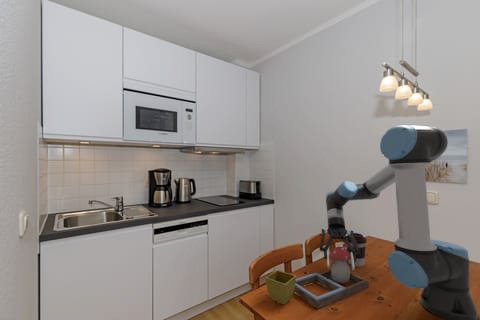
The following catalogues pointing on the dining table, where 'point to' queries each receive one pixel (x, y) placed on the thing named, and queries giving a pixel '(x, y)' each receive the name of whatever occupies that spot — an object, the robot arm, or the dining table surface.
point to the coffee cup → (361, 245)
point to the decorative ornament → (340, 264)
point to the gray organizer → (331, 288)
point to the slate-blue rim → (323, 294)
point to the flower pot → (280, 286)
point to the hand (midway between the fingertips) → (340, 267)
